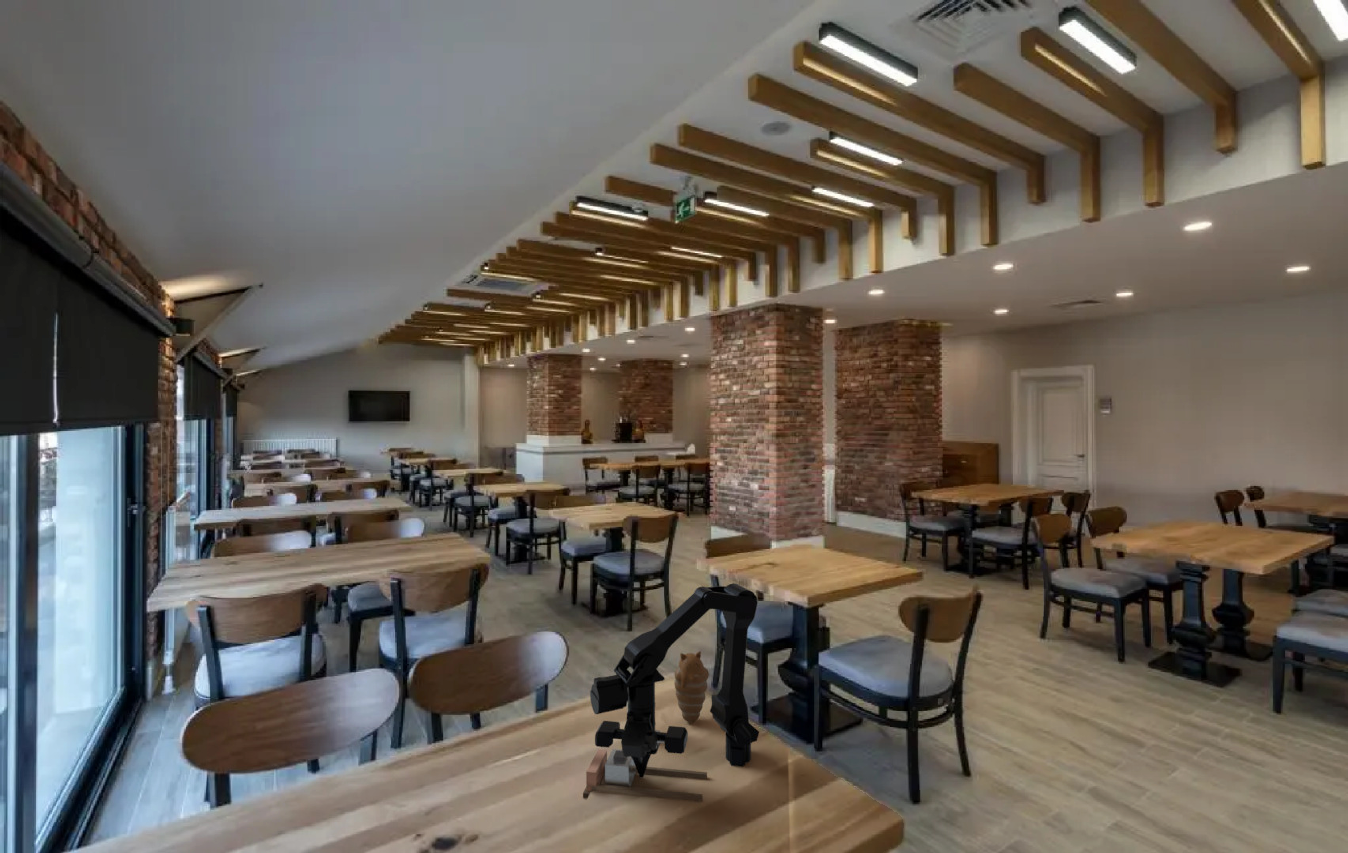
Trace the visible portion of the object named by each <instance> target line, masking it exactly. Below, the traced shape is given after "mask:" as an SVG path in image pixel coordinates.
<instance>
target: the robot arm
mask: <svg viewBox="0 0 1348 853" xmlns="http://www.w3.org/2000/svg"><path fill="white" fill-rule="evenodd" d="M758 604H759V603H758V597H757V595H756V594H755V592H753V591H752V590H750V589H748V588H747V587H744V586H742V585H740V584H739V583H734V582H733V583H728V584H727V585H726V586H724V585H714V586H698V587H697V588H696V589H695V590H694V592H693V593H692V594H691V595H690V596H689V597H688V598H687V599H685V601H684V602H683V603H682V604H681V605H679V606H678V607H677V608H676V609H675V610H674V611H673V612H672V613H670V614H669V615H668V616H667V617H666V618H665V619H664V620H663V621H662V622H660V624H658V625H657V626H656V627H655V628H653V629H652V630H649V631H646V632H644V633H641V634H640V635H637V636H636V637H635V638H633V639H632V640H631V641H629V642H627V644H626V645H625V647H624V651H623V652H624V653H623V655H622V656H621V658H620V660H619V661H618V662H617V664H616V666H615V668H614V670H613V672H614V674H613V675H608V676H604V677H603V676H600V677H594V679H593V684H592V685H591V689H590V691H589V694H590V695H589V696H590V703H591V704H590V705H591V708H592V711H593V713H594V715H600V714H604V713H609V712H613V711H618V710H621V709H622V710H623V709H624V708H627V702H628V712H627V711H626V720H625V725H624V728H621V723H620V721H612V720H611V721H610V720H603V721H601V723H600V725H599V726H598V728H597V730H596V731H595V735H594V744H595V745H594V746H596V747H599V748H610V747H611V746H612V745H613V744H614V739H615V740H621V741H620V744H621V750H622V752H623V755H624V756H625V757H629V756H631V757H632V759H633V761H634V764H635V766H636V769H637V772H638V773H637V775H638V776H639V778H642V779H643V778H644V776H645V775H646V774H645V771H646V768H647V767H648V763H649V762H650V758H651V757H652V756H651V755H657V753H658V751H659V747H660V745H661V744H664V750H665V751H666V752H667V753H668V754H678V755H679V754H680V755H681V754H684V753H685V750H686V746H687V742H688V739H689V738H688V730H687V728H686V727H685V726H675V725H669V726H668V728H667V731H666V732H663V731H662V732H661V730H658V729H656V683H657V682H664V681H665V679H666V678H665V676H664V675H662V673H661V672H659V670H658V667H660V665H661V664H662V663H663V662H664V661H665V658H666V655H667V653H668V651H669V650H670V648H671V647H672V645H674V643H676V642H677V641H678V640H679V639H680V638H681V637H682V636H683V635H684V634H685V633H686V632H688V630H689V629H690V628H692V626H694V624H696V623H697V622H698V621H699V620H700V619H701V618H702V617H703V616H705V615H706V614H707V612H708V611H709V610H718V611H721V612H722V615H723V618H724V619H723V620H724V622H725V637H724V638H725V639H724V652H723V665H722V678H721V688H720V689H719V692H718V693H717V694H712V695H711V706H710V708H709V709H710V710H709V712H710V713H711V715H712V719H713V721H714V722H715V723H716V724H718V726H719V728H720V729H721V730H723V731H724V732H725V759H726V760H727V761H728V762H729V764H730V766H731V767H738V768H739V767H742V768H743V767H744V766H746V764H747V763H749V762H750V761H751V759H752V744H753V743H755V742H757V741H758V738H759V735H760V731H759V730H758V729H757V728H756V727H754V726H753V725H752V724H751V723H750V720H749V719H750V717H749V706H748V704H747V700H746V698H745V694H744V686H745V685H744V683H745V672H746V657H747V656H746V655H747V643H748V633H749V632H748V631H749V627H750V626H751V624H752V622H753V621H754V619H755V617H756V612H757V609H758V608H757V607H758ZM629 668H631V670H632V672H630V671H629V670H628V669H629Z"/></svg>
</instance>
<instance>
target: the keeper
mask: <svg viewBox="0 0 1348 853" xmlns="http://www.w3.org/2000/svg"><path fill="white" fill-rule="evenodd" d="M636 774H637V773H635V764H634V761H633V759H632V757H631V756H629V757H625V756H624V755H623V752H622V749H619V748H613V749H612V750H611V751H610V754H609V756H608V757H607V762H606V764H605V773H604V785H614V786H624V787H631V786H632V784H633V782H634V779H635V777H636Z"/></svg>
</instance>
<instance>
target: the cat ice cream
mask: <svg viewBox="0 0 1348 853" xmlns="http://www.w3.org/2000/svg"><path fill="white" fill-rule="evenodd" d="M701 655H702V652H701V650H699V651H697V652H696V653H693V652H688V653H682V652H680V659H679V662H678V667H677V668H676V669H675V672H674V689H675V697H676V699H677V705H678V707H679V709H680V711H681V716H682V719H683V720H684V721H686V723H687V722H688V723H693V722H696V721H697V720H698V719H699V718H700V716H701V712H702V709H703V706H704V702H705V700H706V692H707V689H708V682H707V681H708V679H709V677H710V672H709V670H708V669H707V668H706V667H705V666H704V663H703V661H702V660H701Z"/></svg>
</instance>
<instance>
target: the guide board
mask: <svg viewBox="0 0 1348 853" xmlns="http://www.w3.org/2000/svg"><path fill="white" fill-rule="evenodd" d="M607 760H608V750H606V749H604V750H603V749H597V751H596V753H595V755H594V756H593V758H592V761H591V762H590V764H589V766H588V768H587V770H586V775H585V776H586V780H585V781H586V782H585V783H586V785H585V789H584V790H583V793H582V798H583V799H588V798H589V796H590V794H591V792H596V793H597V792H598V793H608V794H617V795H626V796H628V795H629V796H639V797H648V798H659V799H668V800H677V801H687V802H699V803H703V800H704V798H703V796H704V794H703V793H701V794H700V793H696V792H695V793H693V792H692V793H691V792H684V791H683V792H681V791H674V790H673V791H672V790H663V789H652V788H643V787H642V788H641V787H634V786H632V787H631V786H630V787H624V786H614V785H605V783H604V784H601V781H602V780H603V779H604V777H605V764H606V762H607ZM635 773H636V774H638V772H637V769H636V766H635ZM644 775H654V776H663V777H664V776H665V777H675V778H684V779H685V778H687V779H696V780H707V779H708V772H707V771H706V772H705V771H697V770H687V769H686V770H685V769H675V768H664V767H652V766H647V768H646V771H645V774H644Z"/></svg>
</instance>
